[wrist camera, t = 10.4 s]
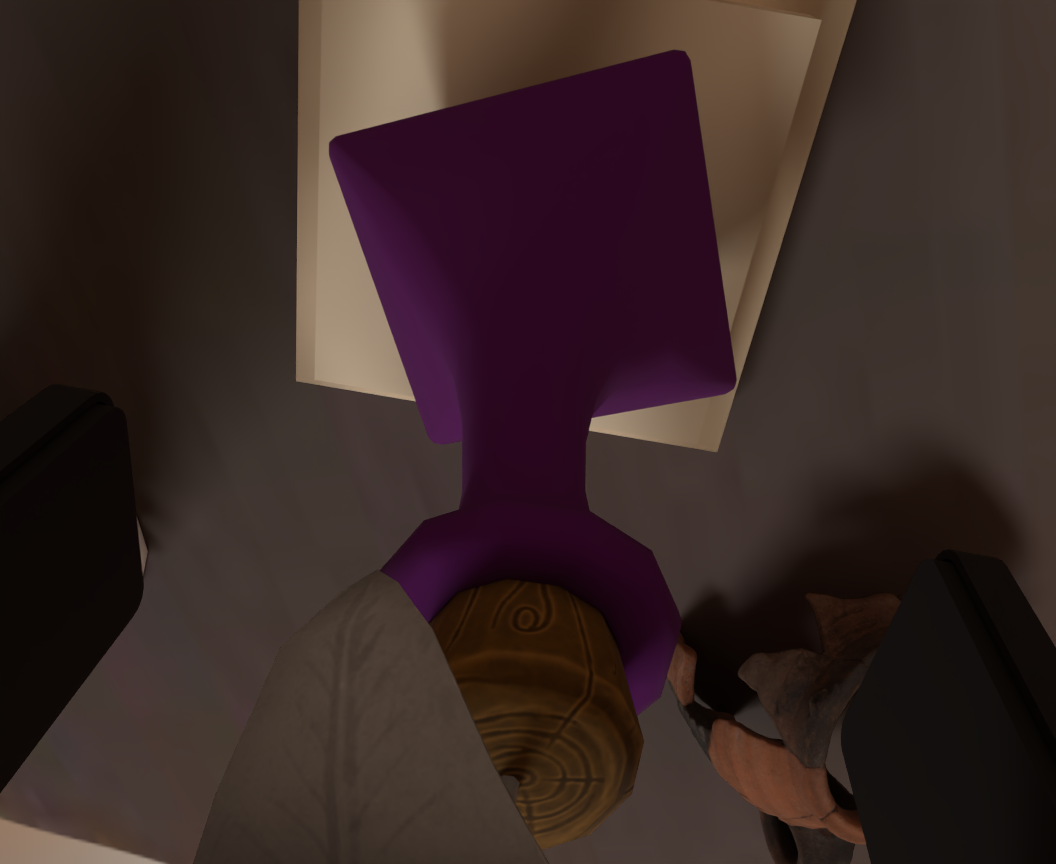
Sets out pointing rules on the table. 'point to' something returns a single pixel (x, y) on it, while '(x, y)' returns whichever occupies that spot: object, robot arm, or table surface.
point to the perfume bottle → (500, 485)
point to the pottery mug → (794, 729)
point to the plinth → (533, 58)
